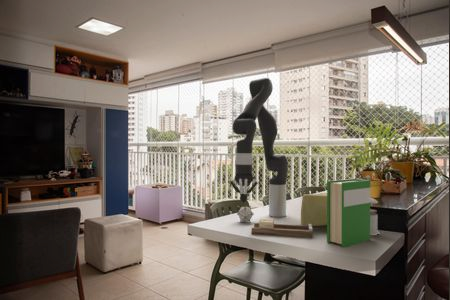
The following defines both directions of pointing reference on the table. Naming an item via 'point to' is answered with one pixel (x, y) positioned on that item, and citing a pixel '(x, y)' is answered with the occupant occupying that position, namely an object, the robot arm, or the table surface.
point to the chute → (285, 230)
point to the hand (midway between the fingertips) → (243, 202)
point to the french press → (373, 217)
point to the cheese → (314, 209)
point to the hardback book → (348, 211)
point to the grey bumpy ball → (245, 214)
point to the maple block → (266, 223)
